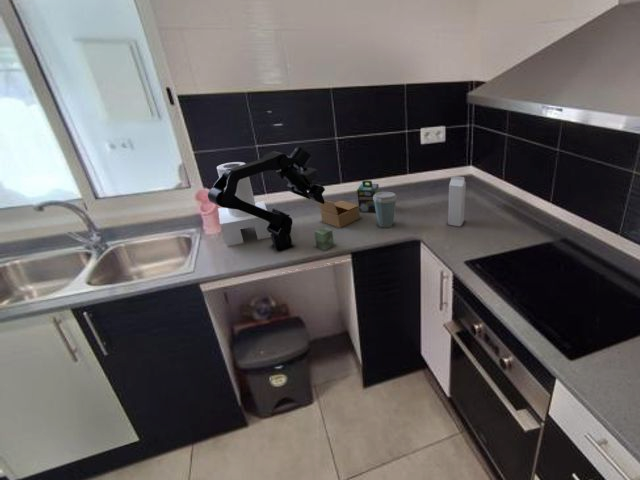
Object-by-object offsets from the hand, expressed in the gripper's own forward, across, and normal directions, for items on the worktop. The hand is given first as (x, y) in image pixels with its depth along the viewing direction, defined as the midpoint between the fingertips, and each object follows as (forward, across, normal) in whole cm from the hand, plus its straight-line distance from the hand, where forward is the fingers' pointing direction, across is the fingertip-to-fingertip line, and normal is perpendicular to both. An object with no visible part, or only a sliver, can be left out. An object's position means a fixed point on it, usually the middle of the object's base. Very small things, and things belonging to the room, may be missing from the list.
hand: (317, 200), depth 162 cm
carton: (+18, +1, -2) cm, 19 cm away
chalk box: (+29, +1, -17) cm, 34 cm away
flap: (+7, +1, -2) cm, 7 cm away
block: (+6, -14, +15) cm, 21 cm away
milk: (+36, -44, -27) cm, 62 cm away
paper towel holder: (-1, +24, +26) cm, 35 cm away
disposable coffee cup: (+24, -19, -10) cm, 32 cm away
